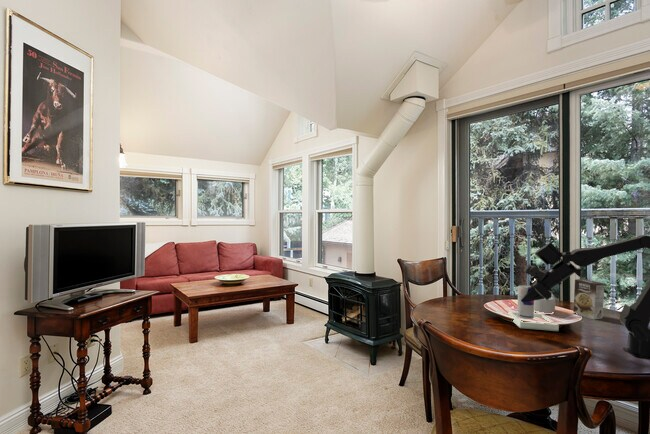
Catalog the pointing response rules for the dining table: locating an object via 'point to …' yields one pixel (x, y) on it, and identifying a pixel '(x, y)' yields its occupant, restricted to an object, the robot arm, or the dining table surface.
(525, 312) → the energy drink
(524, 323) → the tray
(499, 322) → the dining table surface
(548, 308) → the lumpy-topped squat cylinder
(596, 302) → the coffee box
